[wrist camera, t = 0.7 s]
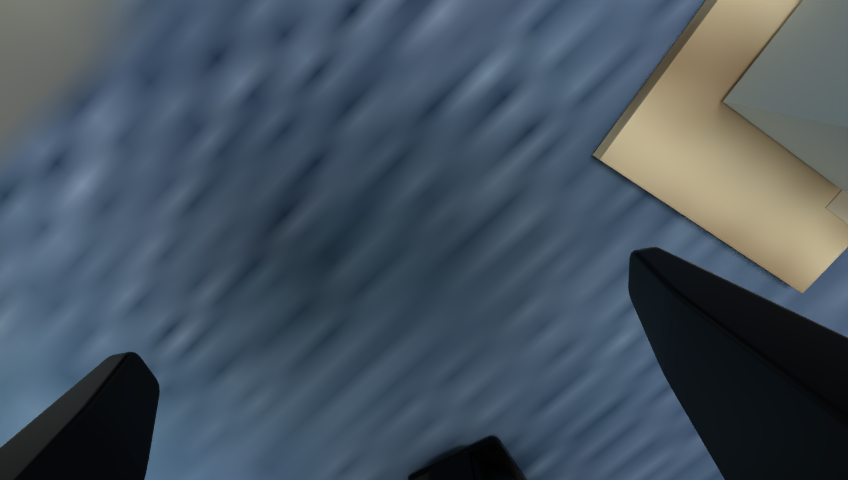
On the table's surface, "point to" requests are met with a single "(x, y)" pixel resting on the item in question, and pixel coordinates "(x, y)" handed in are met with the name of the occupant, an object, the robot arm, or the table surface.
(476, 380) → the table surface
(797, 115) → the grey block
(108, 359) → the robot arm
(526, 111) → the table surface
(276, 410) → the table surface
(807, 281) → the gauge track
